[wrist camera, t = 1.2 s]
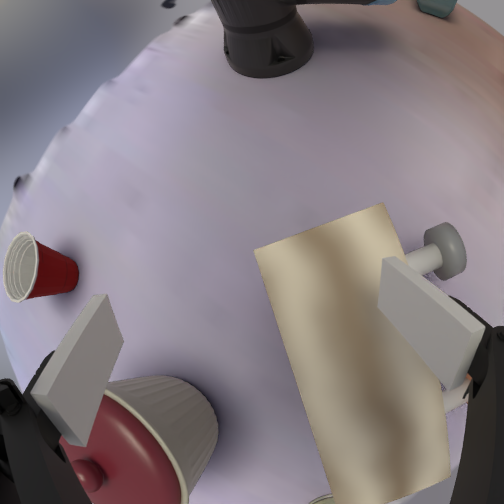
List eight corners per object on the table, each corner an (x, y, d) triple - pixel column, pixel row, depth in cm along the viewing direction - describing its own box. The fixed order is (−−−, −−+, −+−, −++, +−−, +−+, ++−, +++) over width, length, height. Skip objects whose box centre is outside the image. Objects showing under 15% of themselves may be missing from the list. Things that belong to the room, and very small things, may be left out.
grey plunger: (346, 319, 27) (351, 323, 22) (329, 270, 28) (331, 264, 23) (450, 274, 25) (472, 270, 20) (434, 229, 26) (452, 216, 21)
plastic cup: (98, 266, 42) (41, 256, 31) (73, 317, 43) (18, 318, 31) (68, 232, 45) (18, 217, 34) (46, 280, 46) (-3, 273, 34)
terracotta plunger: (379, 438, 24) (387, 461, 19) (369, 400, 25) (377, 419, 20) (476, 393, 21) (497, 406, 17) (470, 354, 23) (493, 362, 18)
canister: (158, 471, 35) (74, 534, 15) (112, 372, 39) (1, 398, 19) (261, 456, 32) (203, 562, 12) (207, 339, 36) (90, 372, 16)
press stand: (337, 443, 30) (339, 516, 16) (282, 269, 35) (253, 250, 21) (411, 417, 28) (450, 476, 14) (359, 241, 34) (383, 202, 19)
